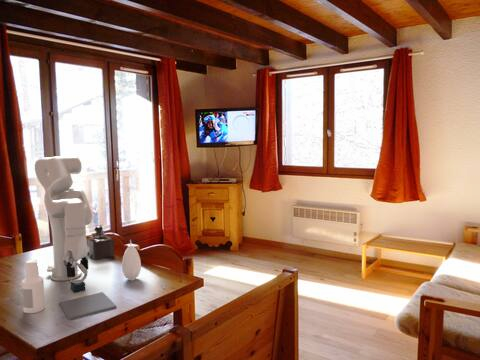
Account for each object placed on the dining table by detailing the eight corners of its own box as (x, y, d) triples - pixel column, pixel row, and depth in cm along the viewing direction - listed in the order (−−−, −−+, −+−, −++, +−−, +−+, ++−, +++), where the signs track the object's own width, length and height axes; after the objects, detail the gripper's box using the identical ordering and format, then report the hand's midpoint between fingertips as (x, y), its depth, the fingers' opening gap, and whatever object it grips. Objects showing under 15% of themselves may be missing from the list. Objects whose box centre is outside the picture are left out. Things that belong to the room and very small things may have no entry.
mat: (69, 319, 133) (69, 317, 133) (59, 304, 146) (59, 302, 146) (116, 307, 142) (116, 305, 142) (102, 293, 155) (102, 291, 155)
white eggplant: (136, 283, 166) (134, 242, 164) (119, 282, 168) (117, 241, 166) (144, 277, 174) (143, 237, 172) (128, 276, 175) (126, 236, 174)
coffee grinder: (86, 256, 206) (84, 222, 204) (107, 252, 213) (105, 219, 211) (97, 263, 194) (95, 227, 192) (118, 258, 201) (117, 224, 199)
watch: (90, 289, 160) (89, 263, 159) (69, 294, 155) (68, 267, 154) (86, 285, 164) (84, 260, 163) (65, 290, 159) (64, 264, 158)
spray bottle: (28, 306, 144) (25, 258, 142) (48, 305, 145) (45, 258, 143) (20, 314, 137) (16, 264, 135) (40, 313, 138) (37, 264, 136)
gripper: (78, 227, 166) (81, 266, 167) (53, 236, 149) (56, 280, 150) (95, 227, 165) (97, 267, 166) (72, 236, 148) (74, 280, 149)
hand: (78, 273), depth 158 cm, fingers open, 9 cm apart
